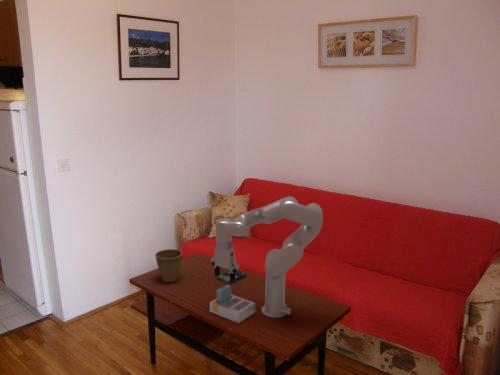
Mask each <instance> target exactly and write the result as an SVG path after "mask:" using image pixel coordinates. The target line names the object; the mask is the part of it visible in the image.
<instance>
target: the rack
mask: <svg viewBox="0 0 500 375" xmlns="http://www.w3.org/2000/svg"><path fill="white" fill-rule="evenodd" d="M209 312H210V313H213V314H214V315H215V314H216V315H218V316H220V317H222V318H225V319H228V320H230V321H232V322H236V323H238V324H240V323H241V322H243V321H245V320H246V319H247V318H249V317H251V316H252V315H254V314H255V313H256V302H254V301H252V300H251V301H250V300H248V299H245V298H243V297H239V296H237V295H233V294H231V299H229V300H227V301H225V302H224V303H222V304H220V303H217V297H216V298H215V299H213V300H211V301H209Z"/></svg>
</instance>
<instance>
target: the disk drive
mask: <svg viewBox="0 0 500 375" xmlns="http://www.w3.org/2000/svg"><path fill="white" fill-rule="evenodd" d="M231 269H232V268H231ZM232 270H233V269H232ZM230 273H231V272H230V270H228V271H225V272H222V273H220V275H218V276H216V280H217V281H220V282H223V283H224V284H226V285H232V284H234V283H236V282H238V281H241V280H243V279H245V278H247V276H248V275H247V272H244V271H241V270H237V271H236V272H235V280H233V281H230Z"/></svg>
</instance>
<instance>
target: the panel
mask: <svg viewBox="0 0 500 375" xmlns="http://www.w3.org/2000/svg"><path fill="white" fill-rule="evenodd" d="M231 295H232V286H231V284H226V285H224V286H222V287H220V288H218V289H216V298H217V303H220V304H222V303H224V302H225V301H227V300H229V299H231Z"/></svg>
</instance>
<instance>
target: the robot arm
mask: <svg viewBox="0 0 500 375" xmlns="http://www.w3.org/2000/svg"><path fill="white" fill-rule="evenodd" d="M281 219H286V220H288V221H291V222H294V223H297V224H299V225H300V226H299V227H298V228H297V229H296V230H295V231H294V232H293V233H291V234H290V235H289V236H287V238H285V240H284V241H283V242H282V247H281V249H279V248H273V249H270V250H269V251H268V252H267V254H266V257H265V263H264V264H265V265H264V270H265V286H264V288H265V290H264V294H265V295H264V305H263V306H262V307H261V313H262V314H263V315H264V316H266V317H269V318H274V319H275V318H277V319H278V318H282V317H285V316H286V315H291V310H292V309H291V308H289V307H287V303H285V302H286V301H285V300H286V299H285V298H286V297H285V296H286V294H285V293H286V292H285V291H286V273H287V272H288V271H289V270H290V269H292V268H293V267H294V266H295V265H296V264H297V263H298V262H299V261H300V260H301V259H302V257H303V256H304V249H305V248H306V247H307V246H308V245H309V244H310V243H311V242H312V241H313V240H314V239H315V238H317V236H318V235H319V234H320V232H321V229H322V227H323V222H324V214H323V210H322V207H321V206H320V204H318V203H315V202H312V203H309V204H307V205H304V204H300V203H299V202H298V200H297V199H296V198H295V197H293V196H286V197H283V198H281V199H278V200H276V201H274V202H272V203H270V204H267V205H264V206H261V207H259V208H254V209H252V210H249V211H247V212H244V213H242V214H240V215H238V216H236V217H235V218H234V220H233V221H232V220H231V219H229V218H226V217H225V218H224V217H223V218H219V219H217V220H216V221H215V242H216V245H215V248H214V256H213V257H211V258H210V262H211V265H212V266H213V269H214V276H215V277H217V276H218V275H220V274H221V268H222V269H227V270H228V271H230V272H231V273H230V281H233V280H235V272H236V271H239V268H240V265H239V264H238V262H236V254H235V249H234V244H233V243H232V242H233V240H232V239H233V237H237V238H239V237H243V236H245V235H246V233H247V231H248V229H250V228H252V227H254V226H256V225H258V224H268V225H269V224H273V223H275V222H277V221H279V220H281ZM232 269H233V270H232Z"/></svg>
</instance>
